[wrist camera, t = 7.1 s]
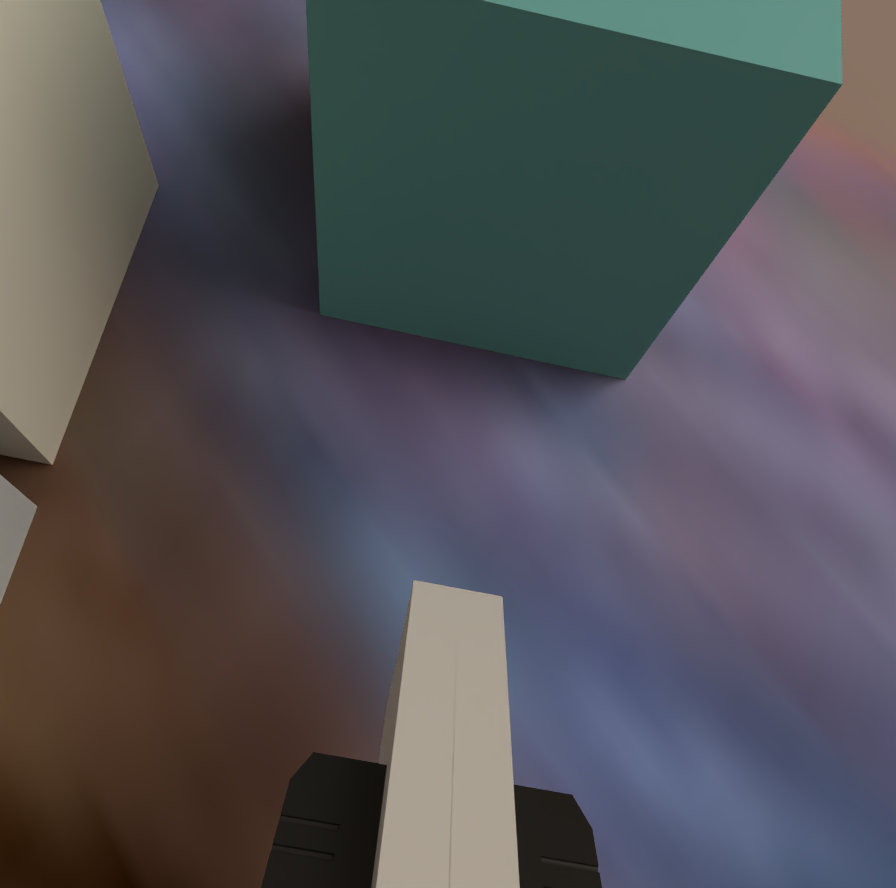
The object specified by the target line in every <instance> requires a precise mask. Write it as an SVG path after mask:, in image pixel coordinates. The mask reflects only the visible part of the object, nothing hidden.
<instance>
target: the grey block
mask: <svg viewBox="0 0 896 888" xmlns="http://www.w3.org/2000/svg"><path fill="white" fill-rule="evenodd" d="M36 509H37V506H36V505H35V504H34V503H33V502H31V501H30V500H29V499H28V498H27V497H26V496H24V495H23V494H22V493H21V492H20V491H19V490H17V489H16V488H15V487H14V486H13V485H12V484H11V483H9V482H8V481H7V480H6V479H5V478H4V477H2V476H1V475H0V604H1V601H2V598H3V596H4V593H5V590H6V588H7V585H8V583H9V580H10V577H11V575H12V572H13V569H14V567H15V564H16V561H17V559H18V556H19V554H20V551H21V548H22V546H23V543H24V540H25V538H26V535H27V532H28V530H29V527H30V525H31V522H32V519H33V517H34V514H35V511H36Z"/></svg>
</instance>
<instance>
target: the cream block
mask: <svg viewBox="0 0 896 888" xmlns="http://www.w3.org/2000/svg"><path fill="white" fill-rule="evenodd" d="M158 186H159V185H158V182H157V179H156V175H155V172H154V169H153V166H152V163H151V160H150V156H149V153H148V150H147V147H146V144H145V140H144V137H143V134H142V131H141V128H140V125H139V121H138V118H137V115H136V112H135V109H134V106H133V102H132V99H131V96H130V93H129V90H128V87H127V83H126V80H125V77H124V74H123V71H122V67H121V64H120V61H119V58H118V55H117V52H116V48H115V45H114V42H113V39H112V36H111V33H110V29H109V26H108V23H107V20H106V17H105V14H104V10H103V7H102V4H101V1H100V0H0V455H5V456H10V457H15V458H20V459H25V460H30V461H35V462H40V463H45V464H50V465H53V462H54V460H55V457H56V454H57V452H58V449H59V446H60V444H61V441H62V439H63V436H64V433H65V431H66V428H67V425H68V423H69V420H70V418H71V415H72V412H73V410H74V407H75V404H76V402H77V399H78V397H79V394H80V391H81V389H82V386H83V383H84V381H85V378H86V376H87V373H88V370H89V368H90V365H91V362H92V360H93V357H94V355H95V352H96V349H97V347H98V344H99V341H100V339H101V336H102V334H103V331H104V328H105V326H106V323H107V320H108V318H109V315H110V313H111V310H112V307H113V305H114V302H115V299H116V297H117V294H118V292H119V289H120V286H121V284H122V281H123V278H124V276H125V273H126V270H127V268H128V265H129V263H130V260H131V257H132V255H133V252H134V249H135V247H136V244H137V242H138V239H139V236H140V234H141V231H142V228H143V226H144V223H145V221H146V218H147V215H148V213H149V210H150V207H151V205H152V202H153V200H154V197H155V194H156V192H157V189H158Z"/></svg>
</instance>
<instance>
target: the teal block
mask: <svg viewBox="0 0 896 888" xmlns="http://www.w3.org/2000/svg"><path fill="white" fill-rule="evenodd" d="M306 15H307V37H308V58H309V80H310V102H311V124H312V146H313V168H314V190H315V212H316V234H317V256H318V278H319V300H320V315H323V316H328V317H333V318H338V319H342V320H347V321H352V322H356V323H361V324H366V325H370V326H375V327H380V328H385V329H389V330H394V331H399V332H403V333H408V334H413V335H418V336H422V337H427V338H432V339H436V340H441V341H446V342H450V343H455V344H460V345H465V346H469V347H474V348H479V349H483V350H488V351H493V352H498V353H502V354H507V355H512V356H516V357H521V358H526V359H530V360H535V361H540V362H545V363H549V364H554V365H559V366H563V367H568V368H573V369H577V370H582V371H587V372H592V373H596V374H601V375H606V376H610V377H615V378H620V379H625V380H626V378H627V377H628V375H629V374H630V373H631V371H632V370H633V369H634V367H635V366H636V365H637V363H638V362H639V361H640V359H641V358H642V356H643V355H644V354H645V352H646V351H647V350H648V348H649V347H650V346H651V344H652V343H653V341H654V340H655V339H656V337H657V336H658V335H659V333H660V332H661V331H662V329H663V328H664V326H665V325H666V324H667V322H668V321H669V320H670V318H671V317H672V316H673V314H674V313H675V311H676V310H677V309H678V307H679V306H680V305H681V303H682V302H683V301H684V299H685V298H686V297H687V295H688V294H689V292H690V291H691V290H692V288H693V287H694V286H695V284H696V283H697V282H698V280H699V279H700V277H701V276H702V275H703V273H704V272H705V271H706V269H707V268H708V267H709V265H710V264H711V262H712V261H713V260H714V258H715V257H716V256H717V254H718V253H719V252H720V250H721V249H722V247H723V246H724V245H725V243H726V242H727V241H728V239H729V238H730V237H731V235H732V234H733V232H734V231H735V230H736V228H737V227H738V226H739V224H740V223H741V222H742V220H743V219H744V218H745V216H746V215H747V213H748V212H749V211H750V209H751V208H752V207H753V205H754V204H755V203H756V201H757V200H758V198H759V197H760V196H761V194H762V193H763V192H764V190H765V189H766V188H767V186H768V185H769V183H770V182H771V181H772V179H773V178H774V177H775V175H776V174H777V173H778V171H779V170H780V168H781V167H782V166H783V164H784V163H785V162H786V160H787V159H788V158H789V156H790V155H791V154H792V152H793V151H794V149H795V148H796V147H797V145H798V144H799V143H800V141H801V140H802V139H803V137H804V136H805V134H806V133H807V132H808V130H809V129H810V128H811V126H812V125H813V124H814V122H815V121H816V119H817V118H818V117H819V115H820V114H821V113H822V111H823V110H824V109H825V107H826V106H827V104H828V103H829V102H830V100H831V99H832V98H833V96H834V95H835V94H836V92H837V91H838V89H839V88H840V87H841V85H842V39H841V38H842V33H841V0H306Z"/></svg>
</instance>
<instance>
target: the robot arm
mask: <svg viewBox="0 0 896 888" xmlns="http://www.w3.org/2000/svg"><path fill="white" fill-rule="evenodd" d="M261 888H602V886H601V880H600V873H598V861H597V855H596V849H595V843H594V837H593V831H592V828H591V826H590V824H589V823H588V821H587V819H586V817H585V816H584V814H583V812H582V811H581V809H580V807H579V806H578V804H577V802H576V801H575V799H574V797H573V795H570V794H564V793H559V792H553V791H547V790H541V789H536V788H530V787H524V786H518V785H514V784H513V767H512V750H511V733H510V716H509V700H508V683H507V666H506V649H505V632H504V616H503V599H502V597H501V596H496V595H491V594H485V593H480V592H475V591H469V590H464V589H458V588H453V587H448V586H442V585H437V584H432V583H426V582H421V581H415V580H414V581H413V586H412V591H411V595H410V600H409V605H408V609H407V614H406V619H405V623H404V628H403V633H402V637H401V642H400V647H399V651H398V656H397V661H396V665H395V670H394V675H393V679H392V684H391V689H390V693H389V698H388V703H387V707H386V713H385V720H384V728H383V735H382V742H381V749H380V756H379V763H372V762H367V761H361V760H355V759H350V758H344V757H338V756H332V755H327V754H321V753H315V752H313V754H312V755H311V756H310V757H309V758H308V759H307V760H306V762H305V763H304V764H303V765H302V766H301V767H300V769H299V770H298V771H297V772H296V773H295V774H294V775H293V777H292V778H291V779H290V782H289V786H288V789H287V793H286V797H285V801H284V804H283V808H282V812H281V816H280V820H279V823H278V827H277V830H276V834H275V838H274V842H273V846H272V850H271V853H270V856H269V860H268V864H267V868H266V871H265V875H264V879H263V883H262V886H261Z"/></svg>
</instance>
